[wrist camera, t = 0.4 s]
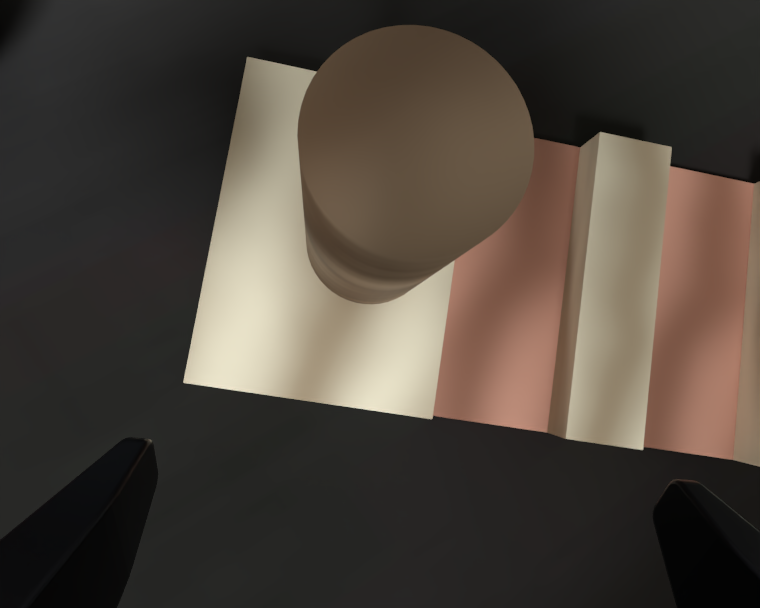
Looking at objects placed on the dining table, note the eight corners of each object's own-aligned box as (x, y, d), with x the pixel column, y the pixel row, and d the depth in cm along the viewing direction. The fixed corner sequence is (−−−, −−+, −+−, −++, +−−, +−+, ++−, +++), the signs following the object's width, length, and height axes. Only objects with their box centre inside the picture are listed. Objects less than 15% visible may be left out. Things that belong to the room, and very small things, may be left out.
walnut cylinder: (456, 252, 21) (580, 163, 11) (360, 330, 20) (402, 307, 10) (378, 155, 21) (434, -19, 11) (279, 229, 20) (246, 112, 10)
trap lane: (195, 380, 21) (181, 382, 19) (253, 82, 23) (246, 54, 21) (910, 485, 25) (967, 498, 23) (920, 221, 26) (974, 209, 24)
